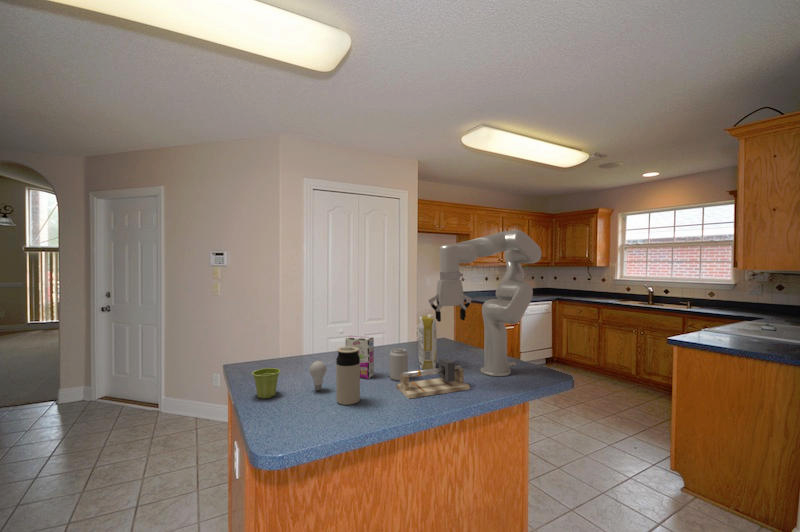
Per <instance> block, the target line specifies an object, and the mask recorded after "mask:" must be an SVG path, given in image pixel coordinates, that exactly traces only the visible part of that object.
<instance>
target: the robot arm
mask: <svg viewBox="0 0 800 532" xmlns="http://www.w3.org/2000/svg"><path fill="white" fill-rule="evenodd" d="M502 252H503V253H504V260H505V263H506V264H505V266H506V270H505V271H506V272H505V273H504V275H503V277H502V278H501V280H500V282H499V283H498V285H497V288H496V290H495V296H496V298H491V299H488V300H486V301H484V302H483V304H482V306H481V314H482V320H483V325H484V327H483V328H484V330H483V332H484V335H483V336H484V337H483V339H484V340H483V341H484V342H483V343H484V344H483V345H484V347H483V350H484V351H483V352H484V353H483V355H484V359H483V360H484V361H483V365H484V366H482V367H480V372H481V373H482V374H484V375H487V376H491V377H507V376H510V375H511V373H512V372H511V371H512V370H511V369H510V368H511V367H512V368H514V367H516V366H517V363H516V362H515V361H508V330H507V327H506V324H508V325H515V324H518V323H520V321H521V320H522V318H523V317H524V316H525V313H526V311H527V309H528V307H529V305H530V303H531V301H532V299H533V294H534V292H533V291H534V290H533V286H532V285H531V283H529V282H527V281H524V280H525V278H526V276H525V272H524V269H523V267H522V264H535V263H538V262H539V261H540V260H541V258H542V250H541V247H540V245H538V244H537V243H536V242H535V240H533V239H532V237H530V236H529V235H528V234H527V233H526V232H524V231H523V230H519V229H518V230H517V229H516V230H506V231H499V232H496V233H491V234H489V235H485V236H481V237H476V238H473V239H469V240H465V241H460V242H457V243H453V244H443V245H441V246H440V247H439V279H438V280H437V285H436V294H435V296H433V297H432V298H430V299H428V300H427V301H428V303H429V305H430V307H431V308H432V309H433V310H434V311H435V320H436V322H439V323H440V322H441V321H442V320H441V319H442V318H441V317H442V316H441V315H442V314H441V312H442V311H440V310H441V309H442V308H443V307H456V306H458V307H460V309H459V316H460V317H459V319H460V320H462V321H465V319H466V316H467V315H466V310H467V308H468V307H470V304H471V302H472V299H473V298H472V297H470V296H468V295H467V294H464V287H463V282H462V279H461V278H462V277H463V276H464V274H463V273H462V272H460V264H469V263H473V262H475V261H476V260H477V259H478V258H486V257H490V256H491V257H492V256H494V255H497V254H500V253H502ZM465 300H466V302H465ZM434 302H436V305H435V303H434Z"/></svg>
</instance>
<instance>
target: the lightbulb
mask: <svg viewBox="0 0 800 532" xmlns="http://www.w3.org/2000/svg"><path fill="white" fill-rule="evenodd" d="M309 373H310V376H311V377H312V380H313V385H314V390H315V391H317V392H319V391H320V390H322V388H323V387H322V386H323V380H324V376H325V375H326V373H327V365H326V364H325V362H323V361H321V360H316V361H313V362H312V363H311V365H310V367H309Z"/></svg>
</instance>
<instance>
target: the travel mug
mask: <svg viewBox="0 0 800 532" xmlns="http://www.w3.org/2000/svg"><path fill="white" fill-rule="evenodd" d="M336 351H337V354H338V355H337V357H336V360H335V361H336V362H335V363H336V370H335V371H336V373H335V375H336V403H338V404H339V405H343V406H350V405H355V404H357V403H359V402H360V400H361V395H360V394H361V378H360V357H359V355H358V351H359V348H357V347H346V346H342V347H338V348H337V349H336Z"/></svg>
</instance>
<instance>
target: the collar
mask: <svg viewBox="0 0 800 532" xmlns="http://www.w3.org/2000/svg"><path fill="white" fill-rule="evenodd" d="M455 366H456V362H455V361H453V360H451V359H449V358H447V357H444V358H438V368H442V367H445V373H439V374H438V376H439V377H438V378H442V379H444V380H445V381H447V382H452V381H455Z"/></svg>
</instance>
